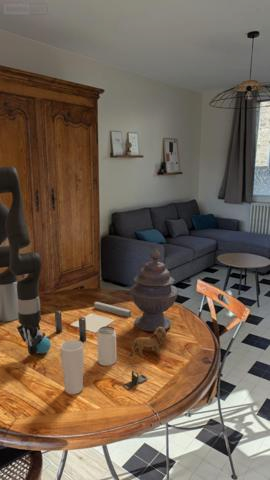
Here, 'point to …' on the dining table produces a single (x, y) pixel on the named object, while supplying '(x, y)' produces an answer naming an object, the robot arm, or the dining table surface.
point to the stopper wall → (112, 309)
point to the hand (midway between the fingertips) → (32, 353)
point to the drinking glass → (72, 365)
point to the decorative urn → (153, 294)
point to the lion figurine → (150, 341)
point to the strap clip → (135, 380)
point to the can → (106, 345)
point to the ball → (43, 346)
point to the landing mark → (94, 322)
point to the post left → (58, 321)
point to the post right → (82, 329)
